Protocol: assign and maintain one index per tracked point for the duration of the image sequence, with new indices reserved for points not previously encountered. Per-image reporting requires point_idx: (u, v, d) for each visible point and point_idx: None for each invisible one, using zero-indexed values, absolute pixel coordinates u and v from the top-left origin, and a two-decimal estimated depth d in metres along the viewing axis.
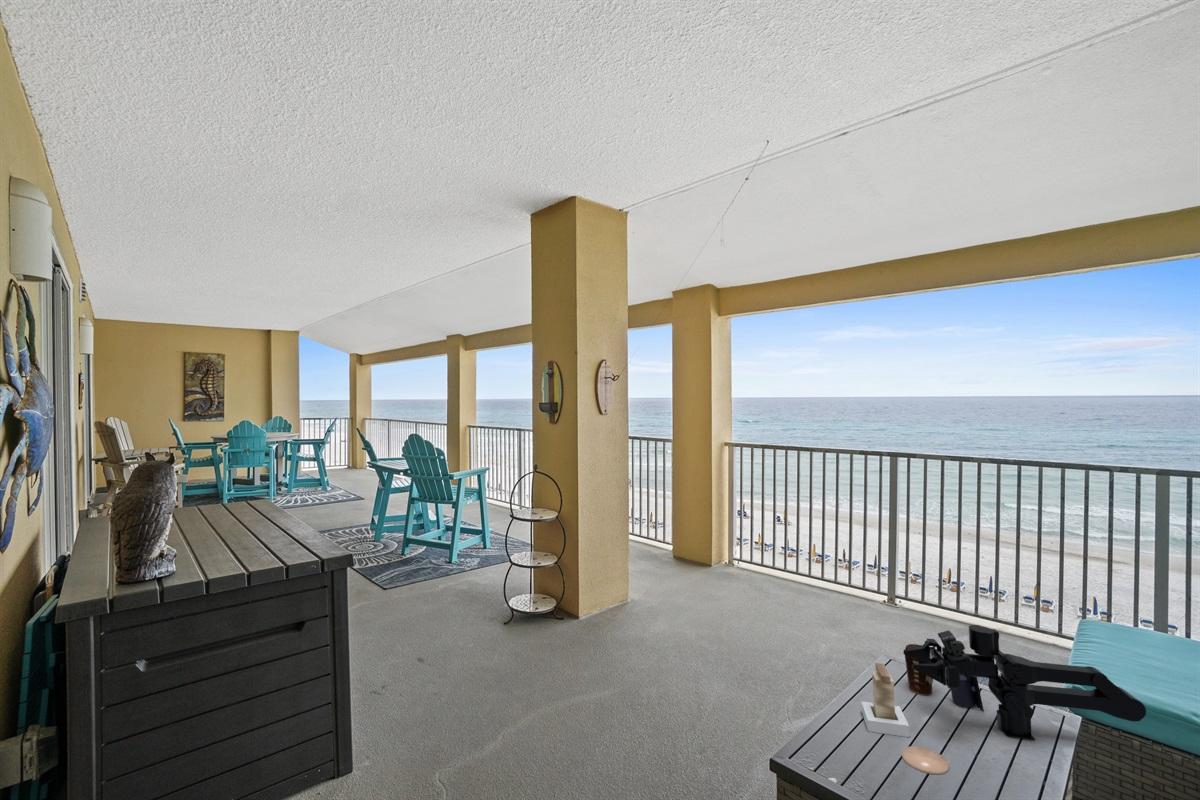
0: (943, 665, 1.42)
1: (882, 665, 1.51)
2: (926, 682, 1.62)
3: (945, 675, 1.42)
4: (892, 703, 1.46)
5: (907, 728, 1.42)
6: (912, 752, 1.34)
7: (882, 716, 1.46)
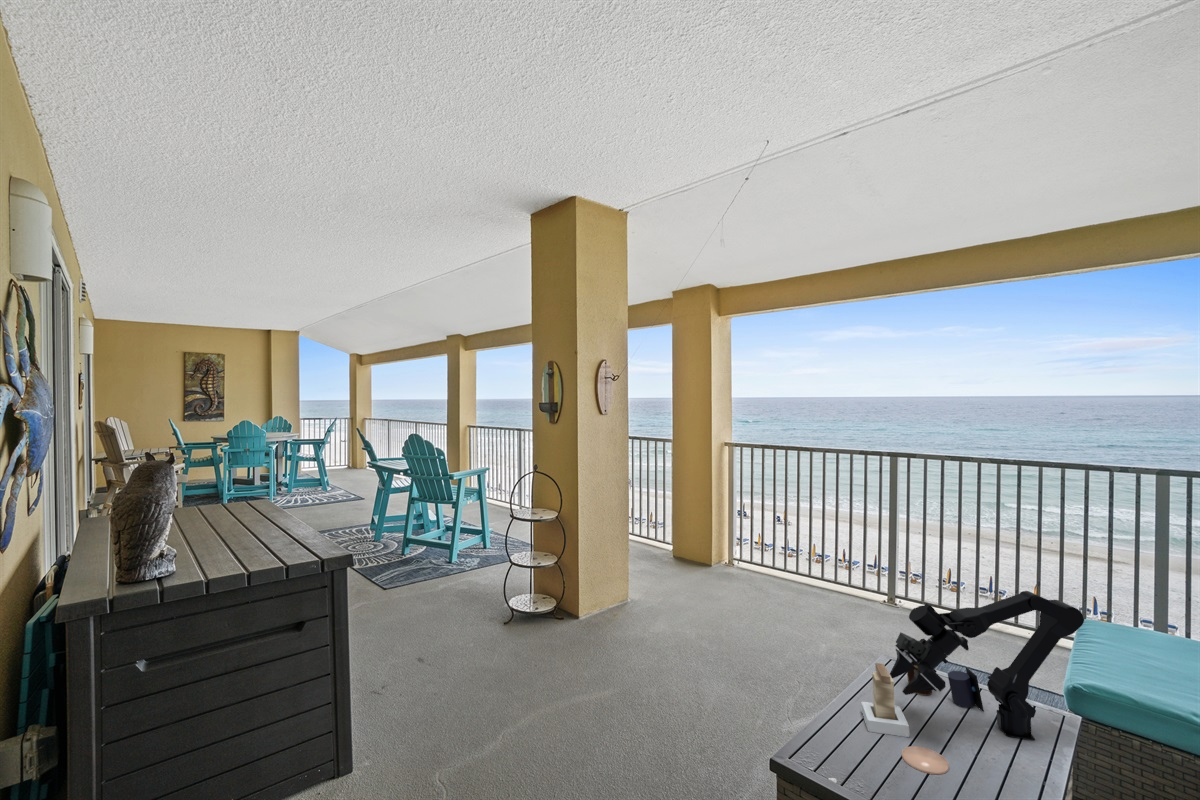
0: (920, 675, 1.40)
1: (882, 665, 1.51)
2: None
3: (928, 682, 1.39)
4: (892, 703, 1.46)
5: (907, 728, 1.42)
6: (912, 752, 1.34)
7: (882, 716, 1.46)
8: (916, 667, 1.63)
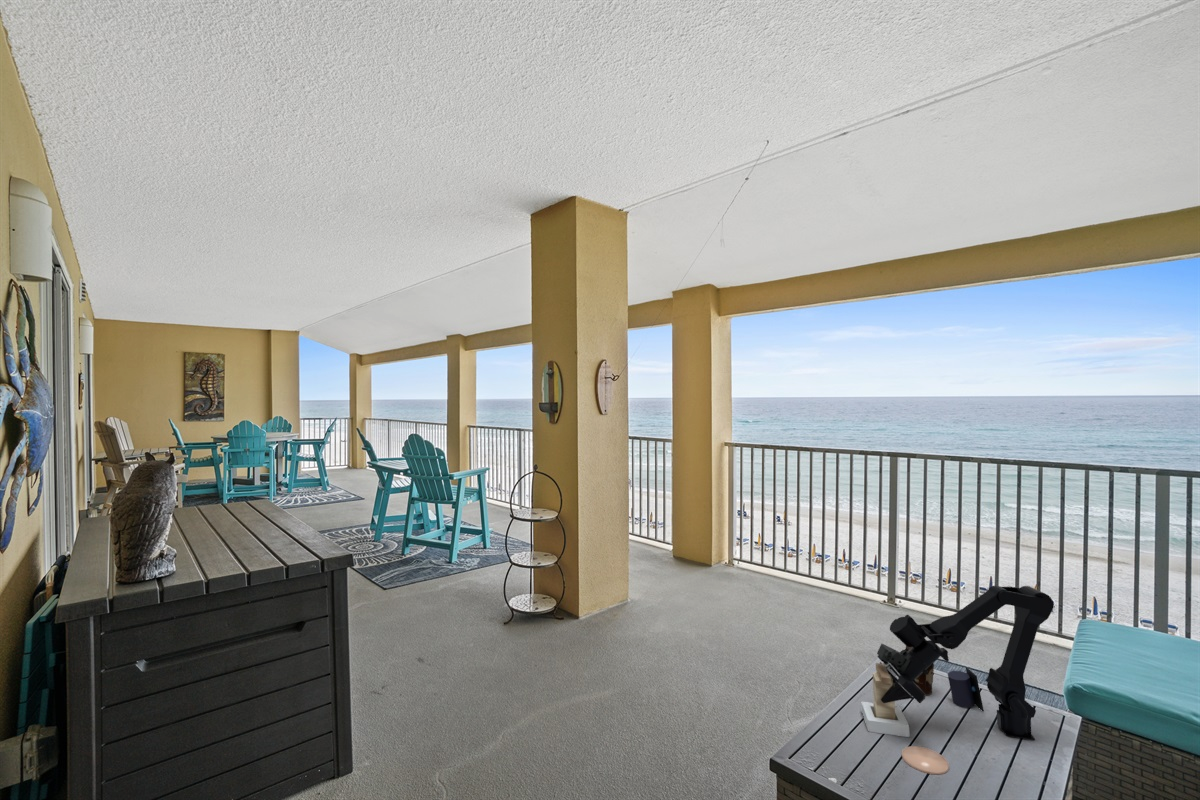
0: (897, 684, 1.42)
1: (883, 665, 1.51)
2: (926, 682, 1.62)
3: (906, 691, 1.42)
4: (892, 704, 1.45)
5: (907, 728, 1.42)
6: (912, 752, 1.34)
7: (882, 716, 1.46)
8: None
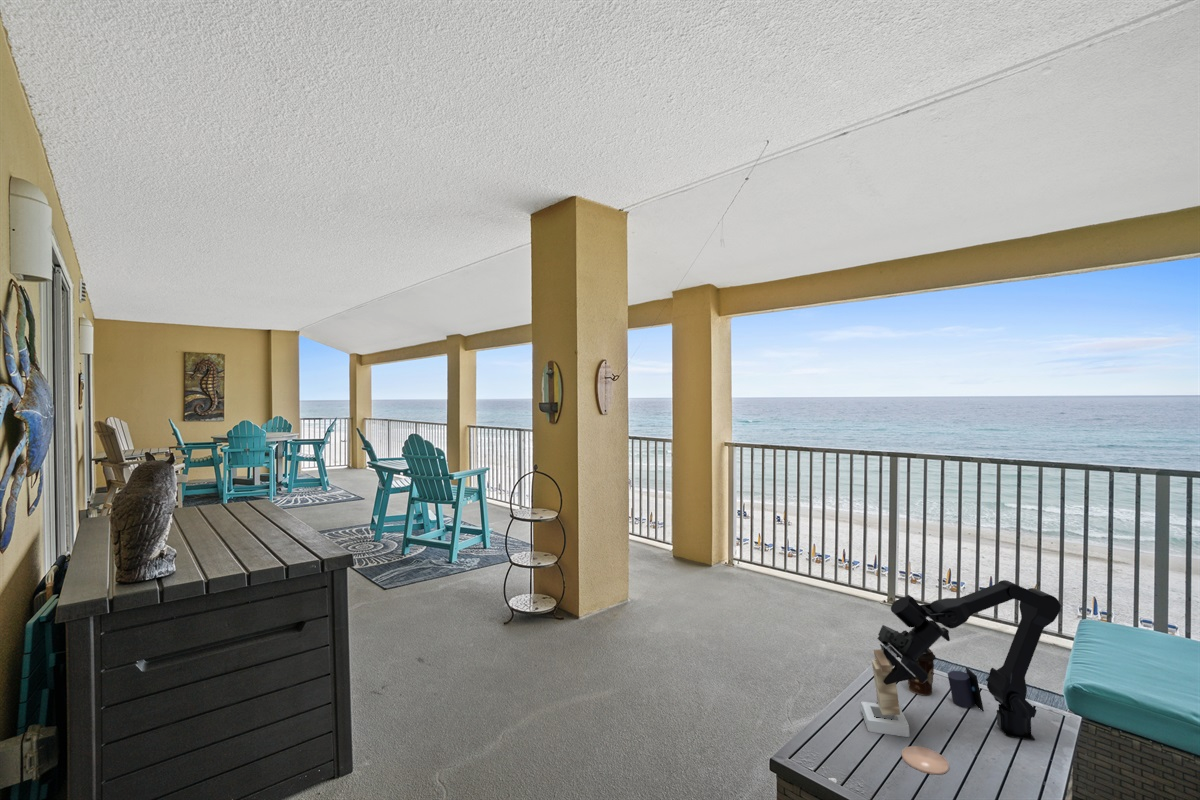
0: (900, 665, 1.41)
1: (881, 651, 1.49)
2: (926, 682, 1.62)
3: (909, 671, 1.40)
4: (894, 689, 1.44)
5: (907, 728, 1.42)
6: (912, 752, 1.34)
7: (886, 703, 1.45)
8: None
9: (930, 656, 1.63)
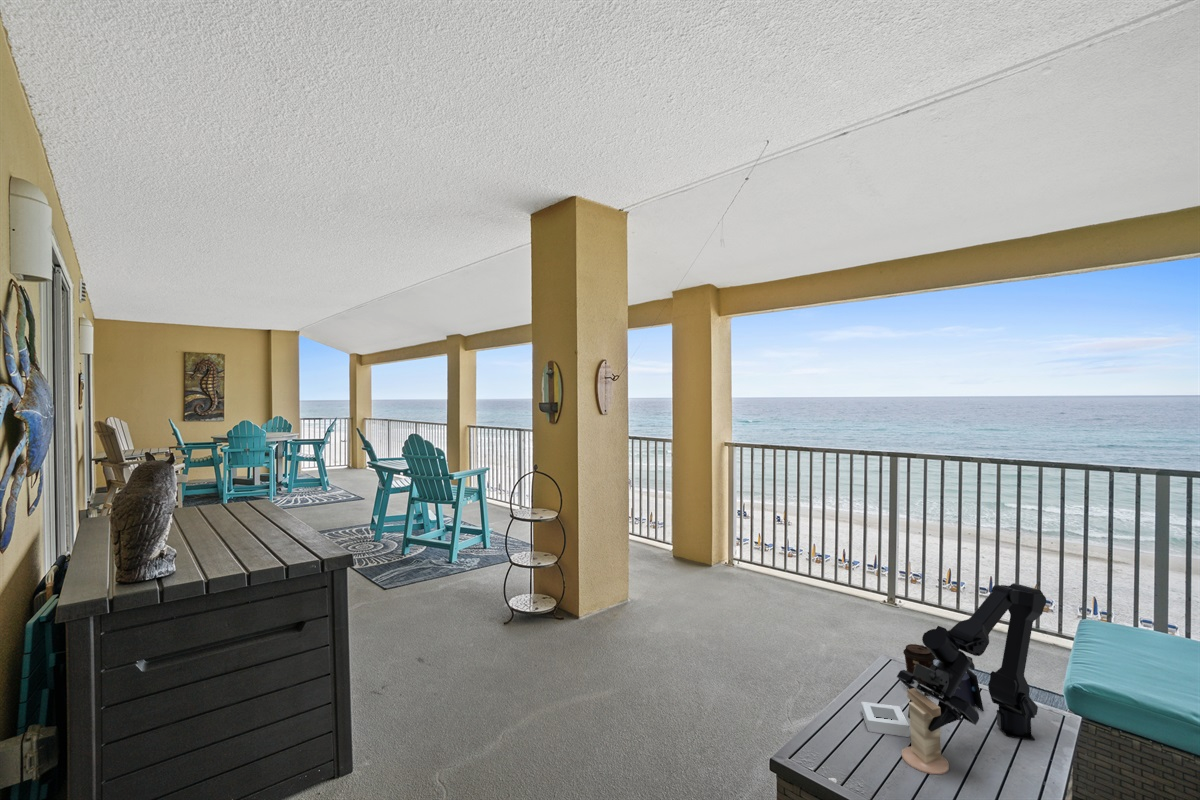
0: (950, 708, 1.27)
1: (916, 690, 1.34)
2: None
3: (957, 713, 1.28)
4: (938, 732, 1.30)
5: (907, 728, 1.42)
6: (912, 752, 1.34)
7: (930, 749, 1.30)
8: None
9: (930, 656, 1.63)
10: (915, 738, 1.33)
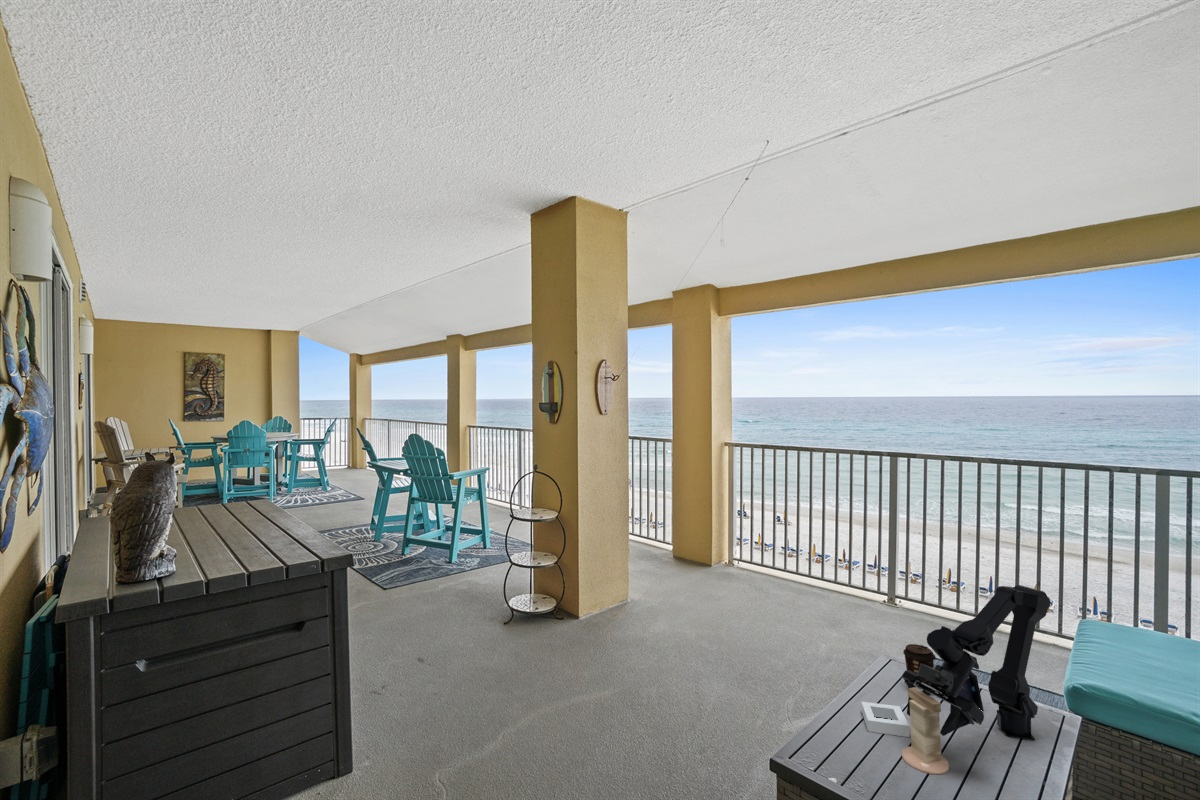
0: (962, 712, 1.26)
1: (916, 689, 1.36)
2: (926, 682, 1.62)
3: (969, 717, 1.27)
4: (938, 731, 1.31)
5: (907, 728, 1.42)
6: None
7: (930, 749, 1.30)
8: (916, 667, 1.63)
9: (930, 656, 1.63)
10: (915, 738, 1.33)
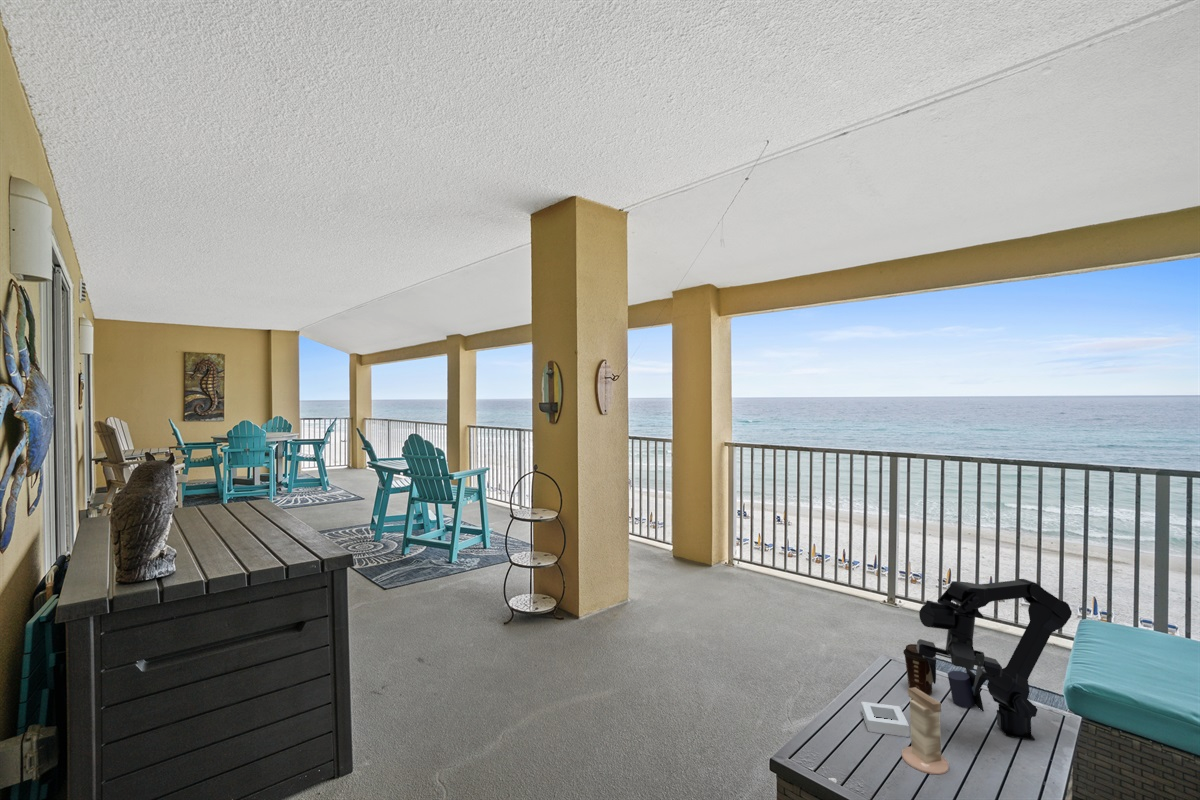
0: (994, 677, 1.37)
1: (917, 689, 1.36)
2: (926, 682, 1.62)
3: None
4: (938, 731, 1.31)
5: (907, 728, 1.42)
6: None
7: (930, 749, 1.31)
8: (916, 667, 1.63)
9: None
10: (915, 738, 1.33)
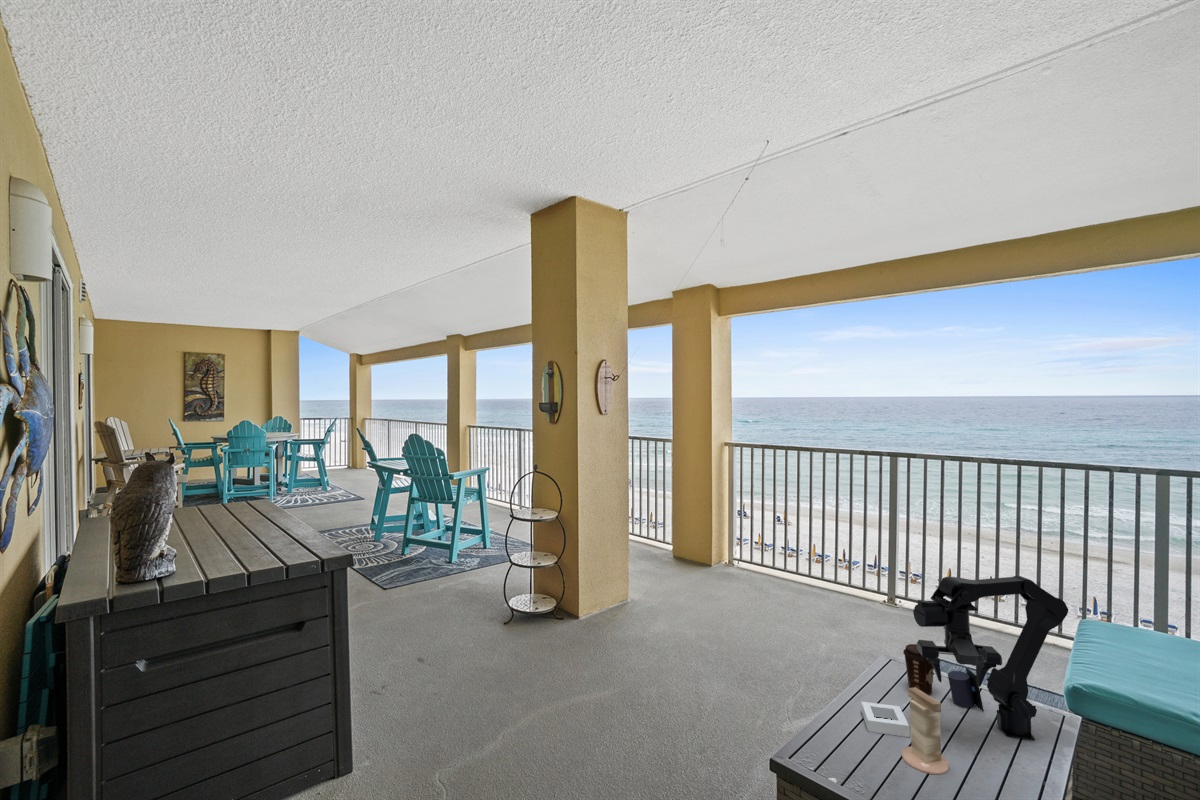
0: (995, 666, 1.40)
1: (917, 689, 1.36)
2: (926, 682, 1.62)
3: None
4: (938, 731, 1.31)
5: (907, 728, 1.42)
6: None
7: (930, 749, 1.31)
8: (916, 667, 1.63)
9: None
10: (915, 738, 1.33)
